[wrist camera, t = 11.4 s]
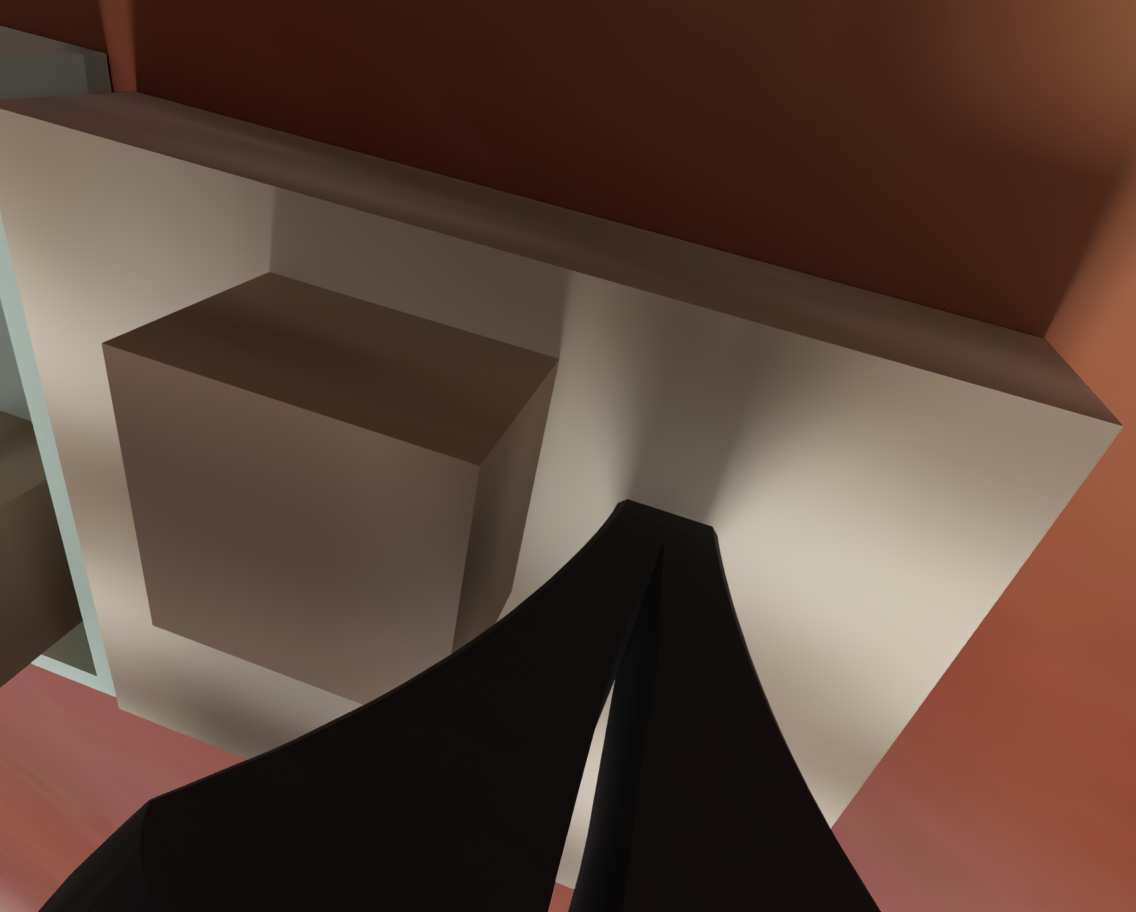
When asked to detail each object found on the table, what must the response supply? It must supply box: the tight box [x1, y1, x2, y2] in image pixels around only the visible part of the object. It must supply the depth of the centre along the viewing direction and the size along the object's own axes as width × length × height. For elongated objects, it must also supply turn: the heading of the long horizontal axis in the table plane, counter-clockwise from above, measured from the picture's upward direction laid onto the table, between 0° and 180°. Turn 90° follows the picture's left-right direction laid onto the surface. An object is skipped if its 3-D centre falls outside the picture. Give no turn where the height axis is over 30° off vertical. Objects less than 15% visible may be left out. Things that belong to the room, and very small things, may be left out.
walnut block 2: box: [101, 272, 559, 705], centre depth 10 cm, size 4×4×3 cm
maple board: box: [0, 91, 1124, 889], centre depth 14 cm, size 14×16×3 cm
